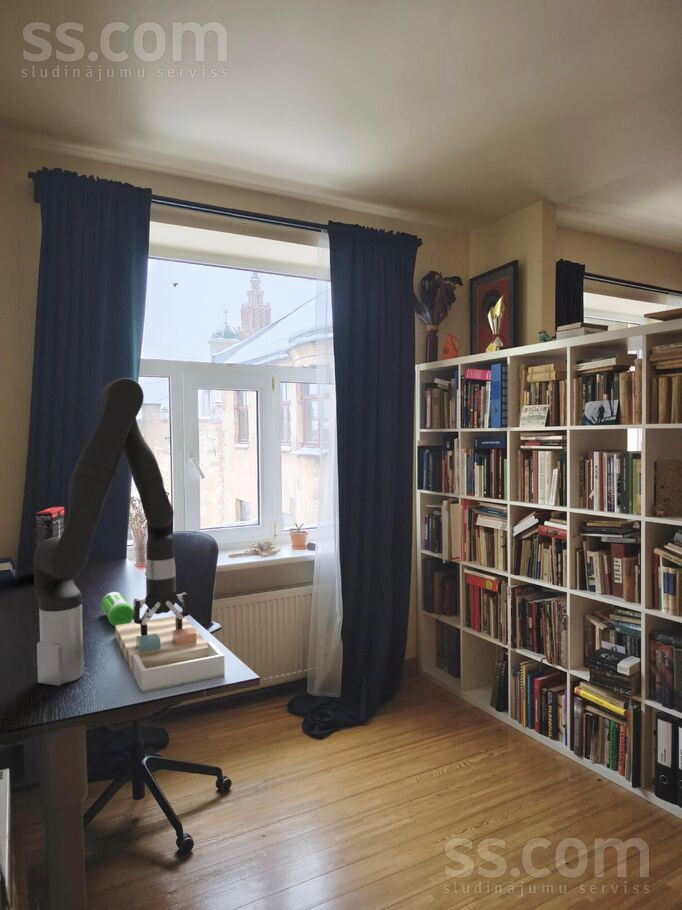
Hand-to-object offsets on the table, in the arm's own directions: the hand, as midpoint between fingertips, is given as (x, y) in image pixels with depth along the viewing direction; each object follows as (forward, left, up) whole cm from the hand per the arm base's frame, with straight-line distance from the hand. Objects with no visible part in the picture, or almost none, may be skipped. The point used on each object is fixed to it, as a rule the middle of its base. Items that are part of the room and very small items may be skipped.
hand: (161, 635), depth 158 cm
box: (-13, -13, -4) cm, 18 cm away
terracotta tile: (0, -7, -1) cm, 7 cm away
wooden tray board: (+2, +1, -4) cm, 5 cm away
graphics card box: (+59, +89, -4) cm, 107 cm away
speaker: (+19, +28, -5) cm, 34 cm away
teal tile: (-7, -1, -1) cm, 7 cm away
